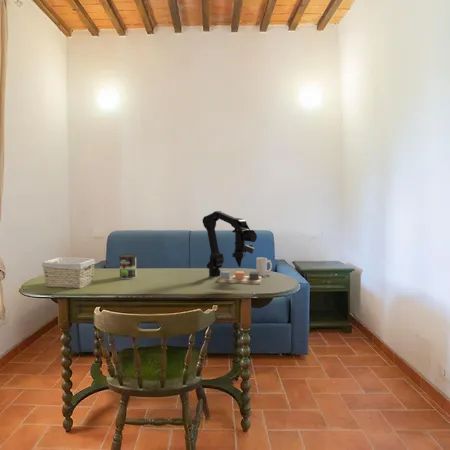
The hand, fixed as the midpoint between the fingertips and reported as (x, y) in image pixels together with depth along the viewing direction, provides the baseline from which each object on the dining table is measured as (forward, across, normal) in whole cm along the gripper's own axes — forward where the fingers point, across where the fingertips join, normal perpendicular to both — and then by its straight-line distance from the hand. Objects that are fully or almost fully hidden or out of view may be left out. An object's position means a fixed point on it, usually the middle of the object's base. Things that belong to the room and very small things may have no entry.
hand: (239, 266), depth 191 cm
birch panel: (+10, 0, 0) cm, 10 cm away
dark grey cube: (+8, 0, -9) cm, 12 cm away
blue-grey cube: (+8, 0, +8) cm, 12 cm away
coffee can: (+10, +2, +71) cm, 72 cm away
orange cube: (+8, 0, 0) cm, 8 cm away
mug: (+10, +18, -14) cm, 25 cm away
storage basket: (+10, -21, +96) cm, 99 cm away
